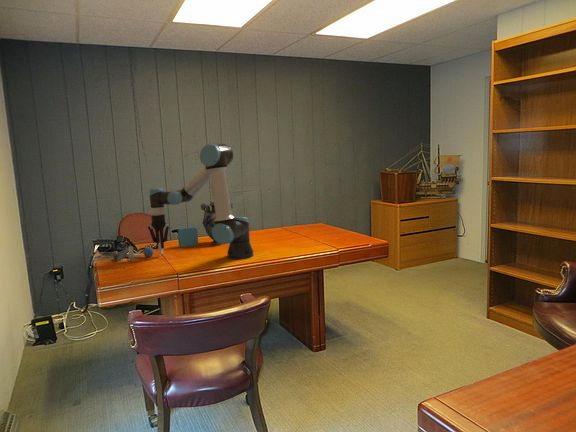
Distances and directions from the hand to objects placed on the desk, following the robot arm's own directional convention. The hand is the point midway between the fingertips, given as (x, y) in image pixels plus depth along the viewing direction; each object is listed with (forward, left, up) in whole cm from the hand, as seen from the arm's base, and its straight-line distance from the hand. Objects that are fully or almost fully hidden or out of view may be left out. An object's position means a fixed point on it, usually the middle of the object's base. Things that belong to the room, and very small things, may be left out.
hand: (161, 253), depth 252 cm
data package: (-8, -30, -2) cm, 31 cm away
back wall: (+23, 0, -2) cm, 23 cm away
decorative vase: (-27, -37, -2) cm, 46 cm away
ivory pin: (+12, 0, -1) cm, 12 cm away
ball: (+8, 0, +1) cm, 8 cm away
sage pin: (+14, +9, -2) cm, 17 cm away
